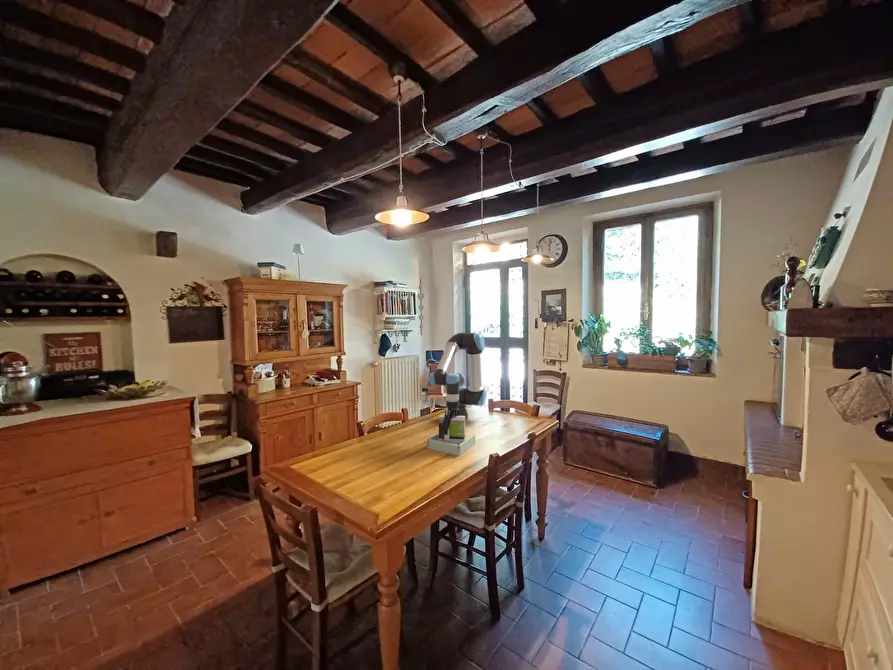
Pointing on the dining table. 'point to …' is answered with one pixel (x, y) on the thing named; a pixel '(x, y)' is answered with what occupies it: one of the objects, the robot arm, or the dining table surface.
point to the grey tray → (450, 445)
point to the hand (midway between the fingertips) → (452, 436)
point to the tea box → (453, 430)
